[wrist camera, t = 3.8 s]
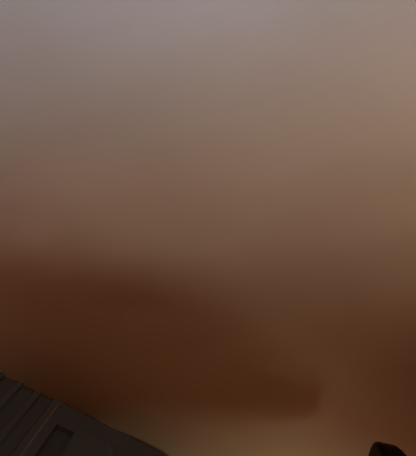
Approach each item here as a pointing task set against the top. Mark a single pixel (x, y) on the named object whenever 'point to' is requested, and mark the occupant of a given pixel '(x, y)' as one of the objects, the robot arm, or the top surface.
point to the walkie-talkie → (56, 428)
